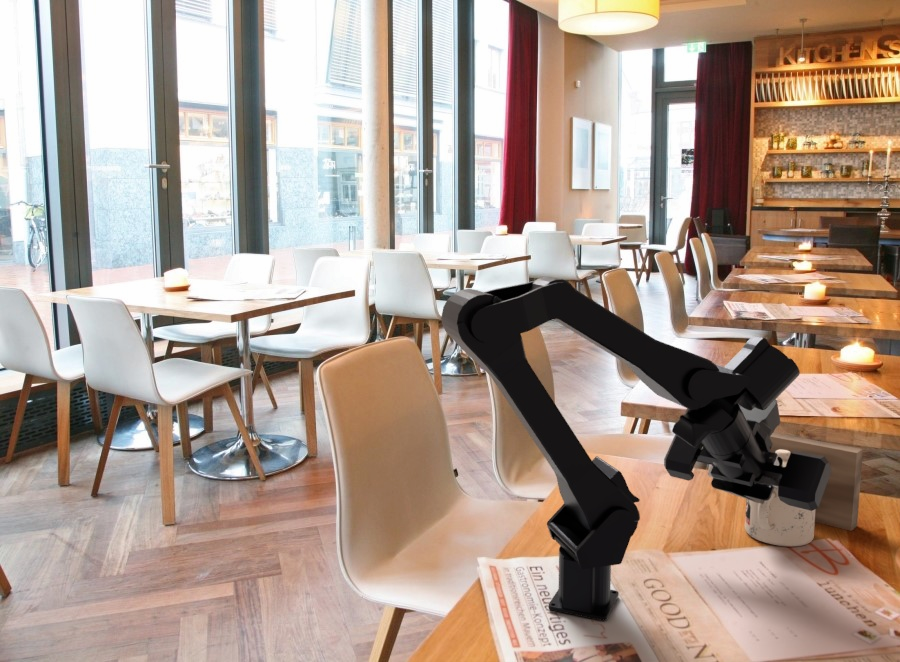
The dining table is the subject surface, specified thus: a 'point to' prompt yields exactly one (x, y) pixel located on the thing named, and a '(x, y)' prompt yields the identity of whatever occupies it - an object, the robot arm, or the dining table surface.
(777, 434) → the bookend
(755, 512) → the teacup with lid
